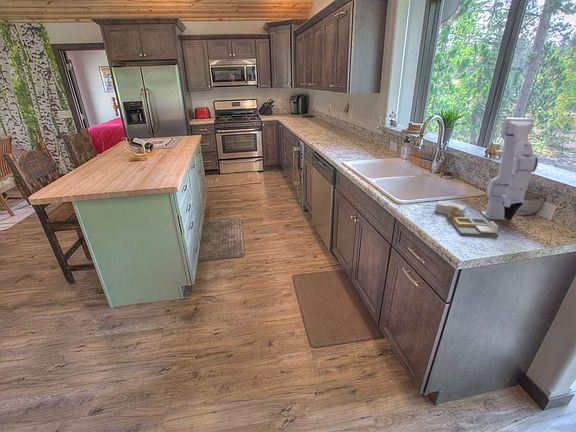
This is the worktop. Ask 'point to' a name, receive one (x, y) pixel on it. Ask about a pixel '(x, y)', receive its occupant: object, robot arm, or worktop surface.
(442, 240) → the worktop surface
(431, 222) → the worktop surface
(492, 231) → the cover
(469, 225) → the board
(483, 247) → the worktop surface
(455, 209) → the beige small block
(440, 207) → the skincare box
